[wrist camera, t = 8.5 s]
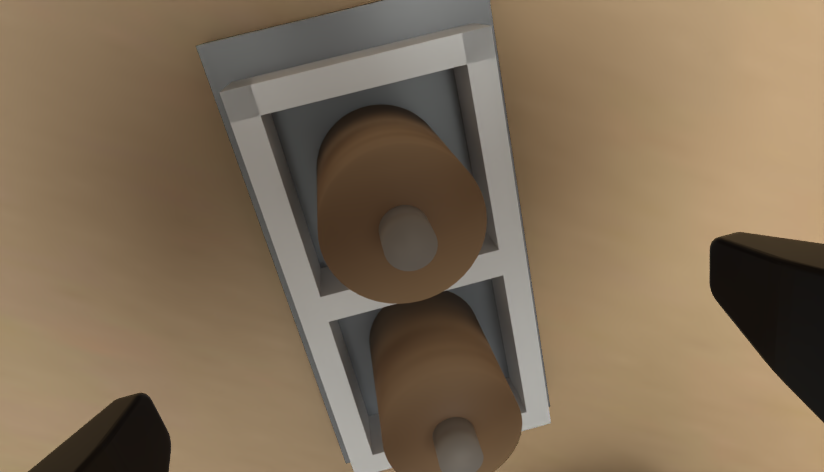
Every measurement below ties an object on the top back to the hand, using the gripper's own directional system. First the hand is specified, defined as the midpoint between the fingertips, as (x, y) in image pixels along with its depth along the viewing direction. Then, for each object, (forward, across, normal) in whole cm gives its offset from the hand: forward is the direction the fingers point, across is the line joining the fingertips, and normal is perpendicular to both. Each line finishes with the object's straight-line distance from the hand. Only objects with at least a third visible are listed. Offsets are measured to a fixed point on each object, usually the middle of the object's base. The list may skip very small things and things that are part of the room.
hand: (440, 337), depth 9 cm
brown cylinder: (+10, 0, 0) cm, 10 cm away
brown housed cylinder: (+10, 0, +7) cm, 12 cm away
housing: (+11, 0, +3) cm, 11 cm away
